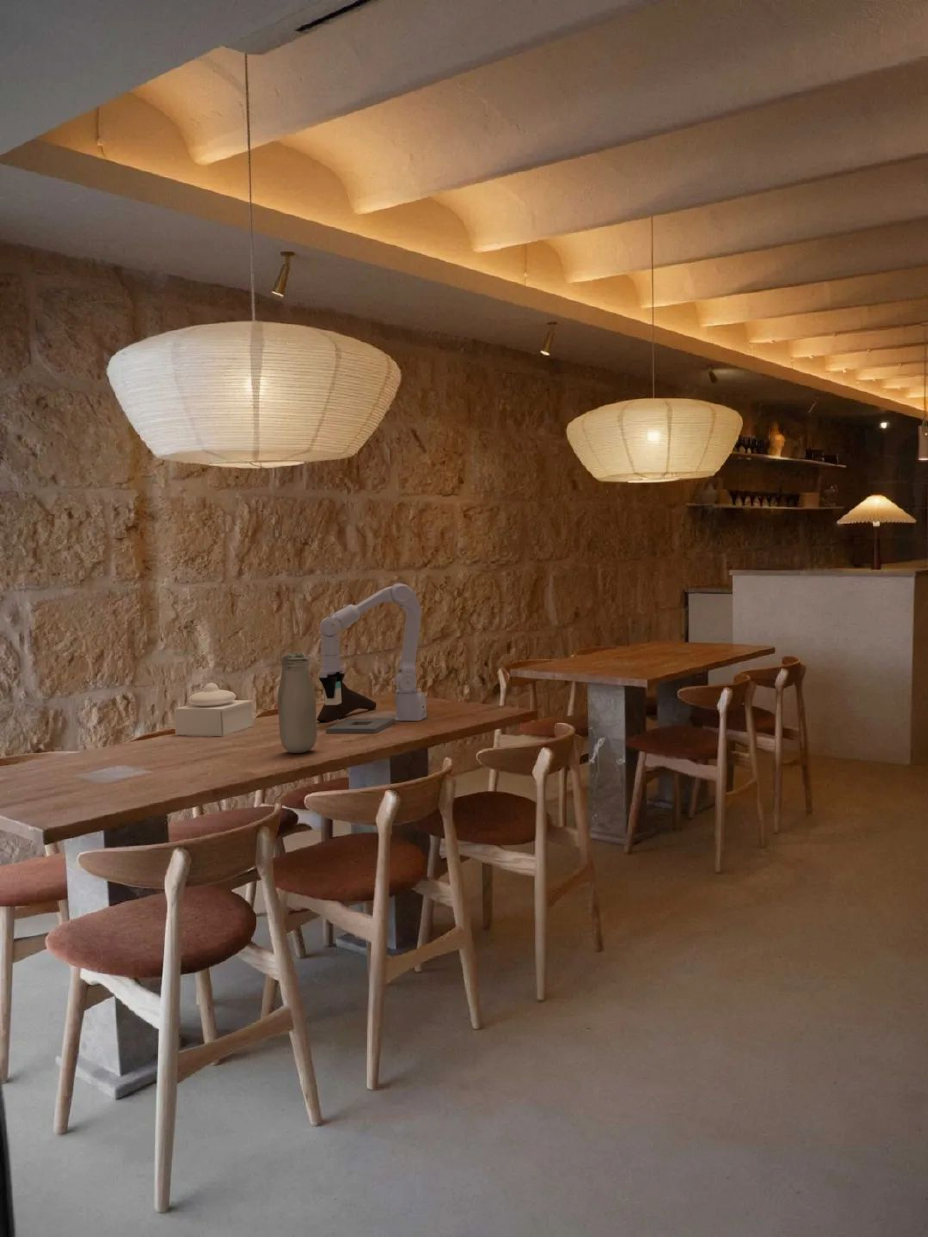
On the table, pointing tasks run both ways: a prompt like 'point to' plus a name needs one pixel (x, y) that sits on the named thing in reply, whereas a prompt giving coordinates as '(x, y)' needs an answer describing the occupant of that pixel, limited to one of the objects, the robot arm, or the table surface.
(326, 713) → the holster
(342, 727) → the port plate
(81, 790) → the table surface
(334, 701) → the plug
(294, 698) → the glass bottle
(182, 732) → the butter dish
